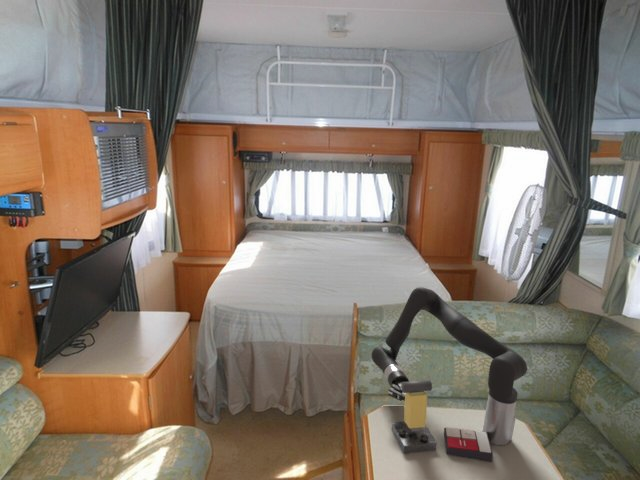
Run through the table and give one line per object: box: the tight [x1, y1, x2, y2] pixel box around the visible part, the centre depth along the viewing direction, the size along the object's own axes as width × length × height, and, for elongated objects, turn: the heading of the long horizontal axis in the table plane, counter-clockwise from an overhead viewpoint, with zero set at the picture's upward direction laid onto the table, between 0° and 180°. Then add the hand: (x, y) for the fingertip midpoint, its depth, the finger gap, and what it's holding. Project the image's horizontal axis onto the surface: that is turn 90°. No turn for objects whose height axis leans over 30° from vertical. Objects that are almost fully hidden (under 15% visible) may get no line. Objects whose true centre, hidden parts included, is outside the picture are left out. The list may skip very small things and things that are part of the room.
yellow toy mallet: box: [401, 379, 433, 432], centre depth 151 cm, size 10×5×18 cm, turn 101°
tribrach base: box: [391, 420, 438, 454], centre depth 153 cm, size 12×12×4 cm
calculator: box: [443, 426, 494, 463], centre depth 150 cm, size 11×4×15 cm
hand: (412, 405), depth 153 cm, fingers closed
